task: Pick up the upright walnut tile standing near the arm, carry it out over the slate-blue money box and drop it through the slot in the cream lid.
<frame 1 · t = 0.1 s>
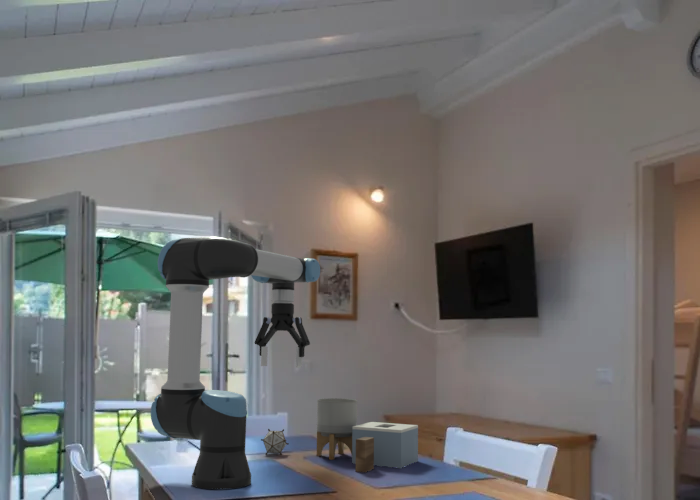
hand: (281, 366, 235), 28 cm above the table, fingers open, 13 cm apart
planter: (336, 457, 227), on the table
coin box: (385, 462, 217), on the table
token: (364, 470, 204), on the table
game die: (274, 455, 229), on the table
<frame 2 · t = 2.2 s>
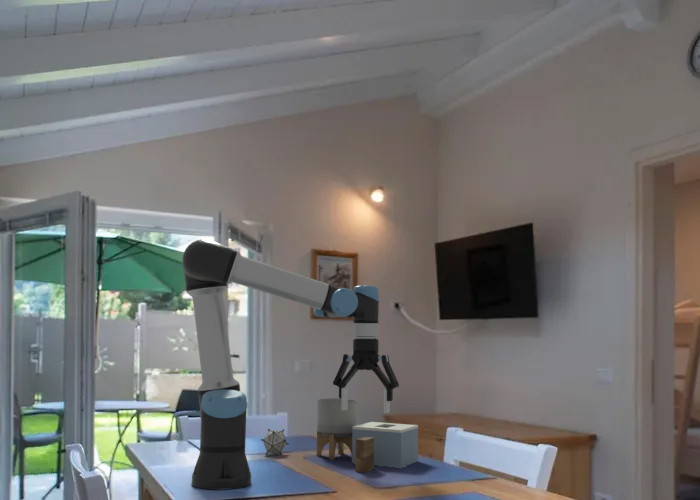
hand: (365, 411, 206), 17 cm above the table, fingers open, 13 cm apart
nothing on the table moved.
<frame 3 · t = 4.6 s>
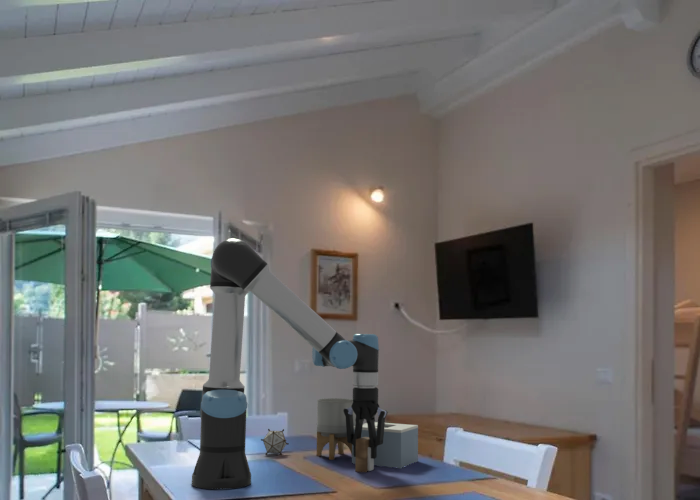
hand: (364, 469, 204), 0 cm above the table, fingers closed on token, 3 cm apart
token: (364, 470, 204), on the table, touching gripper
everything else where it was.
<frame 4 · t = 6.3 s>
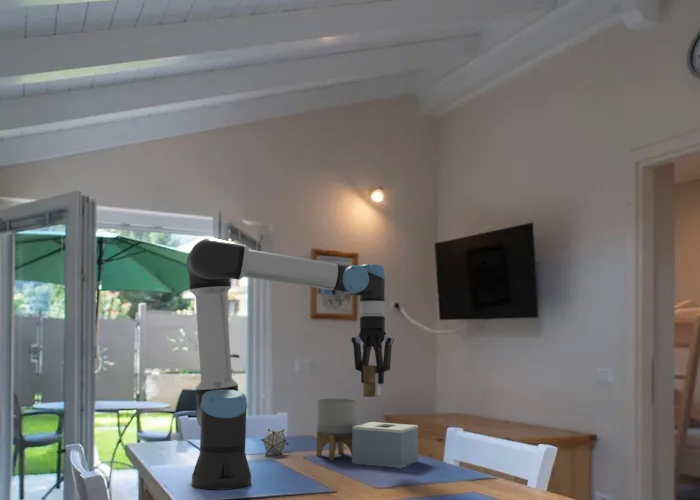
hand: (372, 394, 210), 21 cm above the table, fingers closed on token, 3 cm apart
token: (372, 395, 210), point 21 cm above the table, touching gripper
everything else where it was.
when the fingers open (13 cm above the table, at t = 8.0 s): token drops 11 cm, resting on coin box.
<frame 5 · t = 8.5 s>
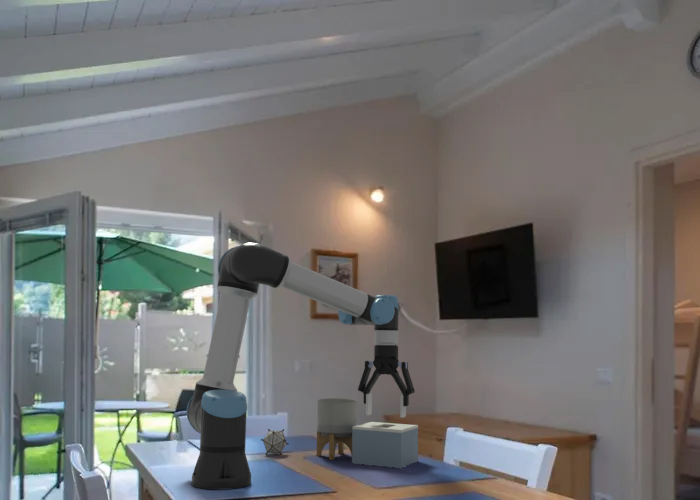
hand: (385, 415, 219), 14 cm above the table, fingers open, 11 cm apart
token: (385, 459, 217), point 1 cm above the table, tilted 10°, touching coin box
everything else where it was.
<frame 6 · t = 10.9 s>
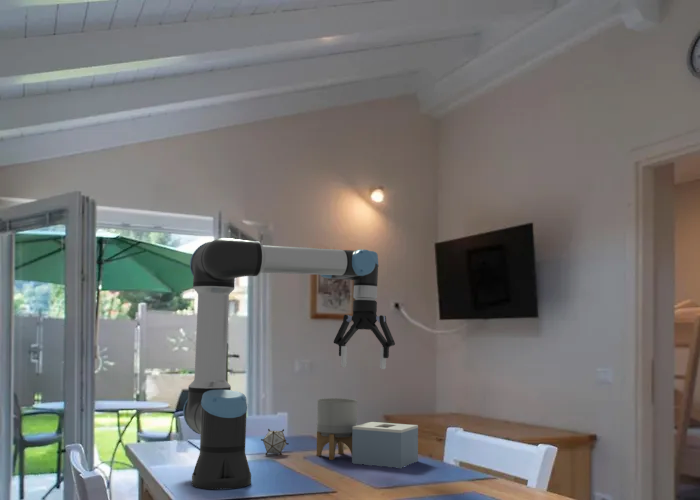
hand: (363, 368, 220), 29 cm above the table, fingers open, 13 cm apart
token: (385, 460, 217), point 1 cm above the table, touching coin box
everything else where it was.
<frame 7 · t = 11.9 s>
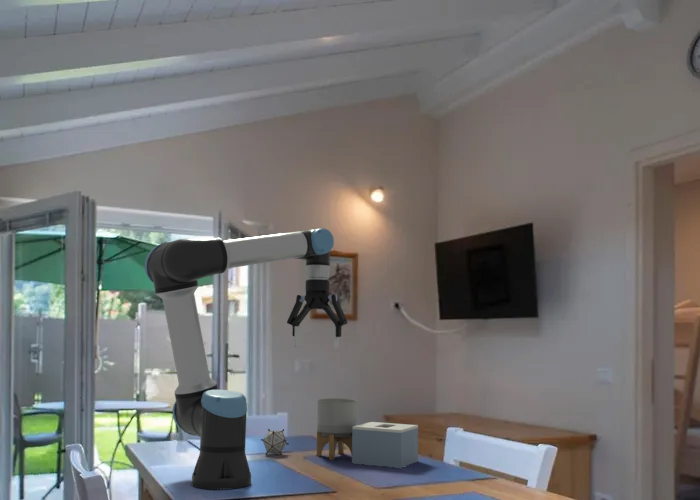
hand: (316, 347, 220), 35 cm above the table, fingers open, 13 cm apart
nothing on the table moved.
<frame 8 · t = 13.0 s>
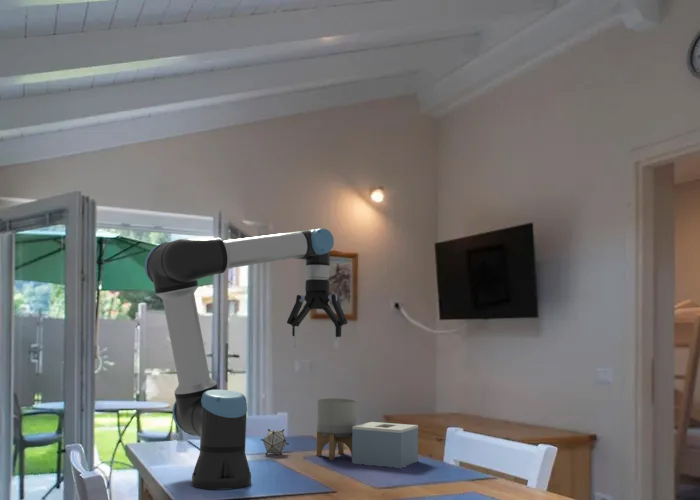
hand: (316, 347, 220), 35 cm above the table, fingers open, 13 cm apart
nothing on the table moved.
at the end: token inside the target area on the coin box (0.2 cm from its centre), point 0.6 cm above the coin box's base; the gripper is holding nothing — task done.
